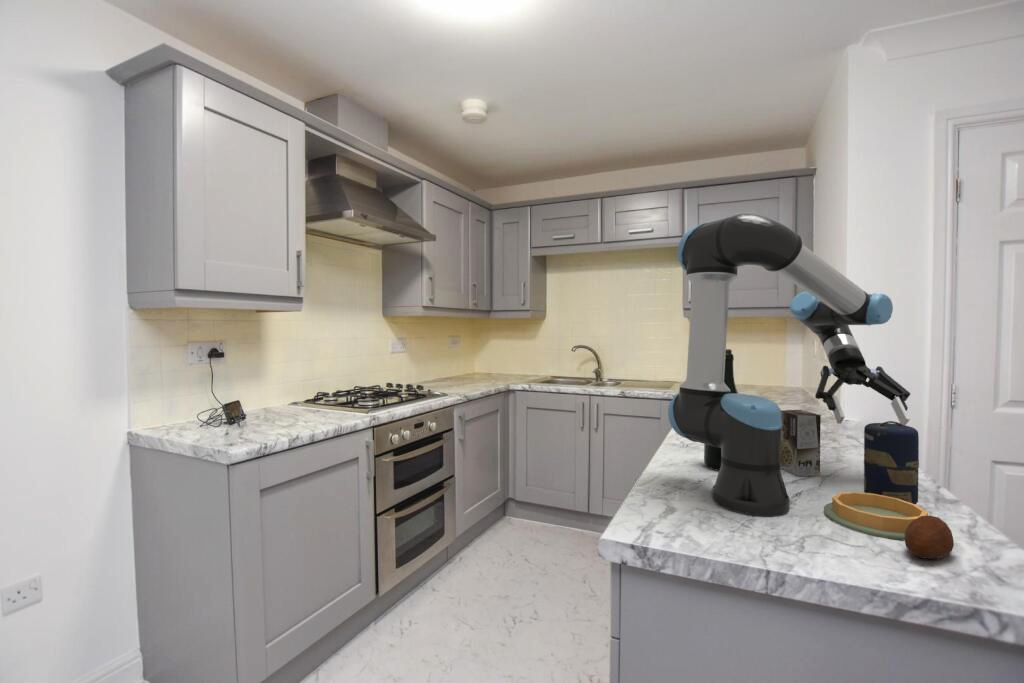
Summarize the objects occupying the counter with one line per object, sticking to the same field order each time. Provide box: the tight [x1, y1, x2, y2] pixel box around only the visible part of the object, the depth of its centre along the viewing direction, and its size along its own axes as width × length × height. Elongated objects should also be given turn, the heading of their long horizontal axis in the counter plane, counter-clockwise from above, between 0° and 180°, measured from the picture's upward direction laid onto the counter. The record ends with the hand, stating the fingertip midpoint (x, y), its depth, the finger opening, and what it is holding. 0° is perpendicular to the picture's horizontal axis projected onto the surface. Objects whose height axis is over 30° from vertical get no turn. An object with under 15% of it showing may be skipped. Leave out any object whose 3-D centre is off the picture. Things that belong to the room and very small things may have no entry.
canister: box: [863, 420, 920, 505], centre depth 105 cm, size 10×10×18 cm
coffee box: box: [780, 409, 822, 477], centre depth 128 cm, size 9×6×16 cm
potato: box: [904, 514, 955, 559], centre depth 81 cm, size 6×12×6 cm, turn 125°
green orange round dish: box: [823, 491, 929, 541], centre depth 95 cm, size 18×18×3 cm
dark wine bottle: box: [703, 348, 739, 471], centre depth 132 cm, size 10×10×33 cm
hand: (873, 421), depth 114 cm, fingers open, 13 cm apart
